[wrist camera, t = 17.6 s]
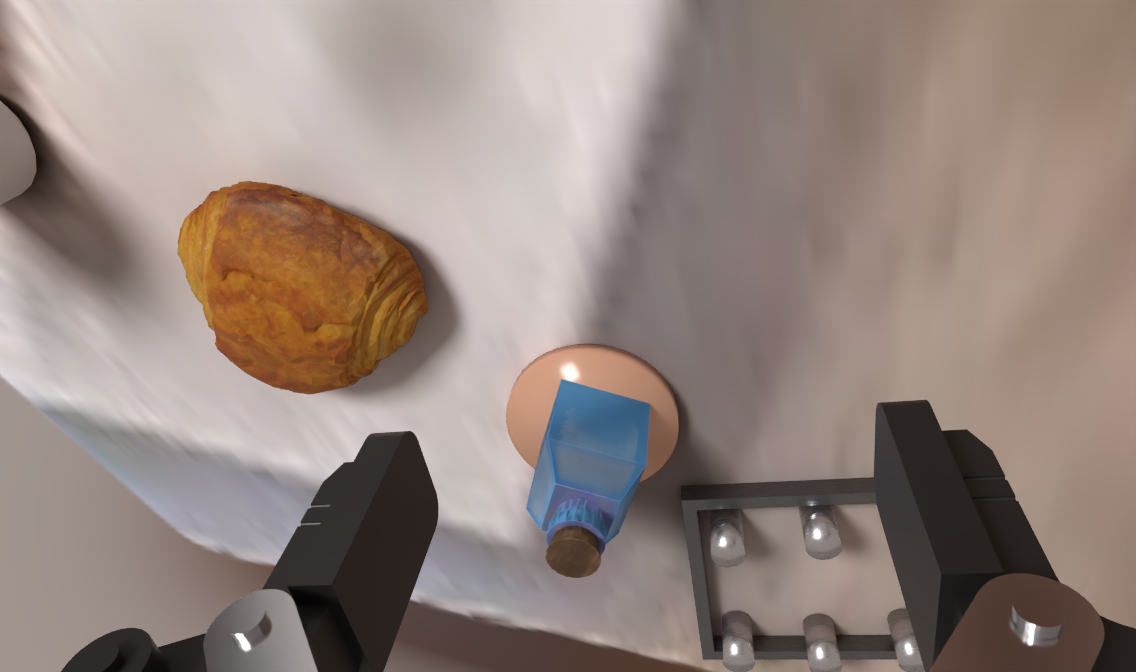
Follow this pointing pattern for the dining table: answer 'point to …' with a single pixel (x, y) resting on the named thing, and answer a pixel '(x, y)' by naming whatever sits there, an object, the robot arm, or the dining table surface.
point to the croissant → (298, 286)
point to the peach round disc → (600, 372)
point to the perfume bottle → (587, 474)
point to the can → (14, 156)
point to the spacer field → (819, 543)
